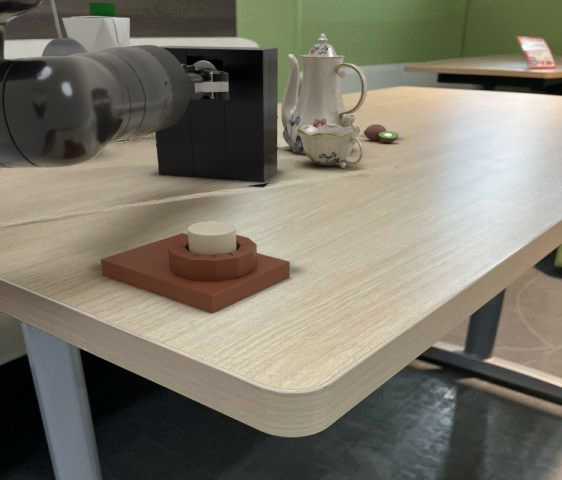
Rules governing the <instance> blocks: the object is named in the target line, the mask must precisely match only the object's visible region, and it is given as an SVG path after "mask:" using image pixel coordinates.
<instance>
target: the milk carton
mask: <svg viewBox="0 0 562 480" xmlns="http://www.w3.org/2000/svg"><path fill="white" fill-rule="evenodd" d="M88 8H89V15H86V16H85V15H83V16H81V15H80V16H70V17H61V19H62V23H63V26H64V29H65V32H66V36H67V38H72V39H74V40H76V41H78V42H79V43H80V44H82V45H83V46H84V47H85V49H86V50H87V51H88V53H89V52H99V51H101V50H104V49H107V48H112V47H125V46H131V45H130V44H131V43H130V42H131V41H130V40H131V38H130V36H131V34H130V33H131V31H130V30H131V22H130V21H131V19H130V17H123V16H117V12H116V4H115V2H88Z"/></svg>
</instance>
